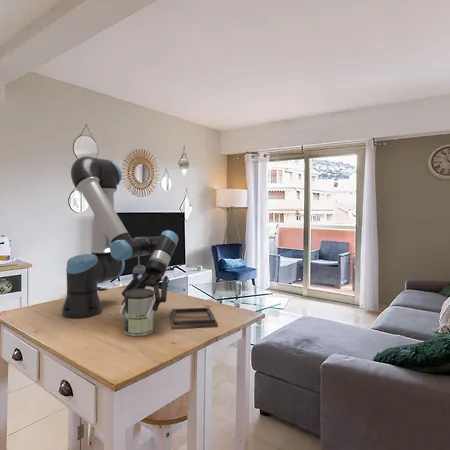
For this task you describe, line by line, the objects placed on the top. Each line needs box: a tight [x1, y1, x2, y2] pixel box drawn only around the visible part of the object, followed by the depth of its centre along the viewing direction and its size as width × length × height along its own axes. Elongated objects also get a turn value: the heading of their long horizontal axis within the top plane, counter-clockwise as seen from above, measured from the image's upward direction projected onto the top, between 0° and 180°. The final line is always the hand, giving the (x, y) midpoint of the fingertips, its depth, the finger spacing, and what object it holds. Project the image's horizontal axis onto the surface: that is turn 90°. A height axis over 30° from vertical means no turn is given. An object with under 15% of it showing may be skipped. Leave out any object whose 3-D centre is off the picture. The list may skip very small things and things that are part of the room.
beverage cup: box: [131, 256, 146, 289], centre depth 165 cm, size 7×7×20 cm
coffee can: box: [124, 288, 155, 337], centre depth 120 cm, size 10×10×14 cm
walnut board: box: [169, 307, 219, 330], centre depth 133 cm, size 17×17×2 cm
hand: (134, 316), depth 118 cm, fingers closed on coffee can, 10 cm apart
